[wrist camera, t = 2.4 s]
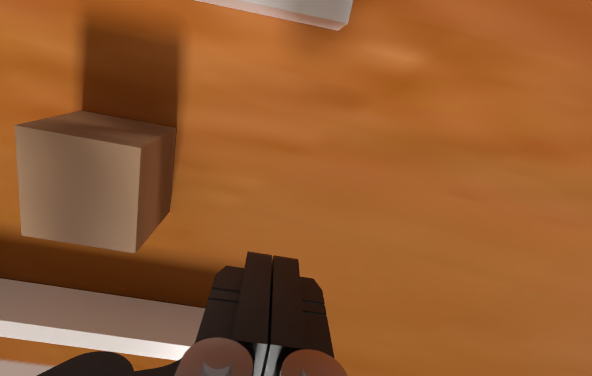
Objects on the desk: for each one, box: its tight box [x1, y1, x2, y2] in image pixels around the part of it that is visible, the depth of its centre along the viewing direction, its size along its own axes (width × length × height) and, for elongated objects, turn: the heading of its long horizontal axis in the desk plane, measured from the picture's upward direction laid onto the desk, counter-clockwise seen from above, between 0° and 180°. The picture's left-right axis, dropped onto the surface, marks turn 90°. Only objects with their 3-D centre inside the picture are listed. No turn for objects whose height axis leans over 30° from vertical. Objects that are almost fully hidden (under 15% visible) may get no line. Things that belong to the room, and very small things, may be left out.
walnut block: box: [15, 111, 177, 253], centre depth 16 cm, size 4×4×4 cm
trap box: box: [0, 0, 353, 360], centre depth 16 cm, size 24×18×3 cm
